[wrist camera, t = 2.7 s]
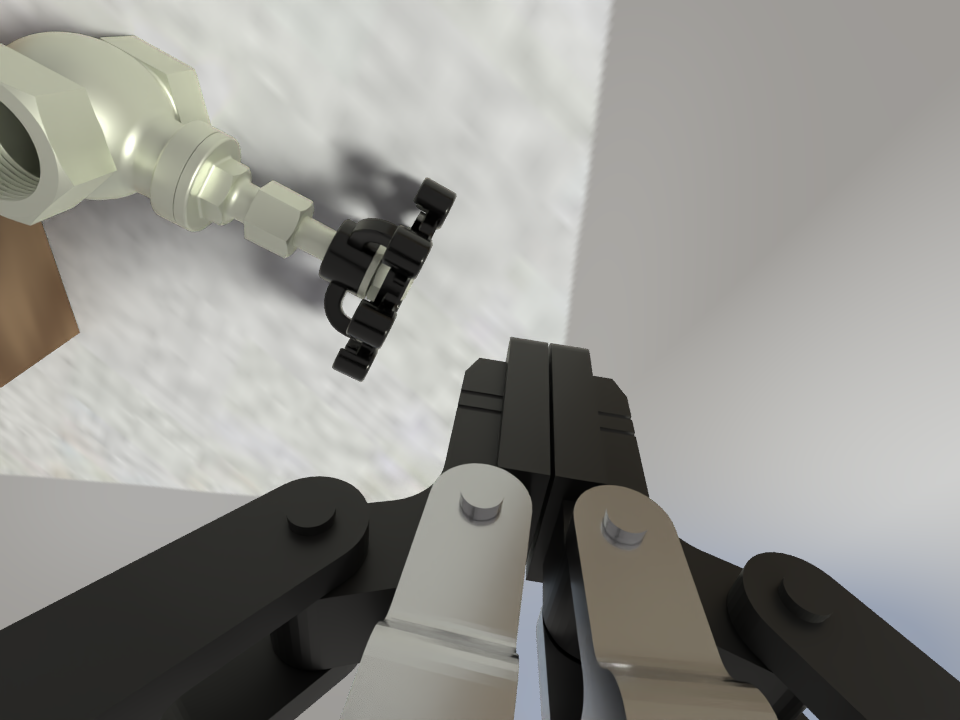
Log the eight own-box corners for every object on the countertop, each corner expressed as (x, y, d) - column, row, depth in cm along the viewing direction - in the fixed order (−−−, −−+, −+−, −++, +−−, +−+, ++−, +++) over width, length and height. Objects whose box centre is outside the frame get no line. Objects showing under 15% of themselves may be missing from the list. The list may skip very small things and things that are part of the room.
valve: (85, 161, 19) (393, 317, 21) (-103, 223, 13) (341, 424, 16) (105, -46, 15) (470, 166, 18) (-139, -78, 10) (438, 237, 12)
